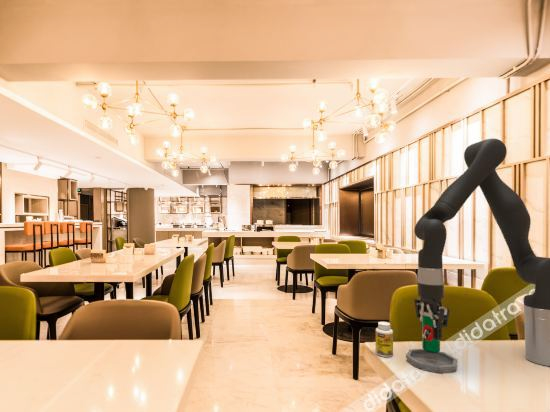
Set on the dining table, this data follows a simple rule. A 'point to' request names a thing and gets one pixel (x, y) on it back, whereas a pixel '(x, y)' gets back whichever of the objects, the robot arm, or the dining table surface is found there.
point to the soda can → (429, 334)
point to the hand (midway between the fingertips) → (431, 336)
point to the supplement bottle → (384, 339)
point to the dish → (432, 361)
